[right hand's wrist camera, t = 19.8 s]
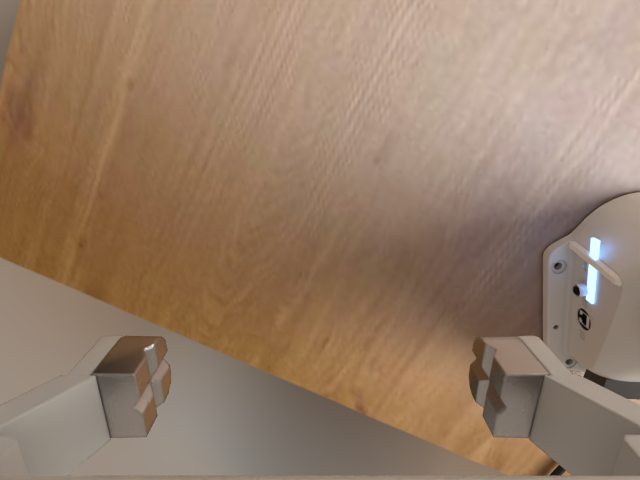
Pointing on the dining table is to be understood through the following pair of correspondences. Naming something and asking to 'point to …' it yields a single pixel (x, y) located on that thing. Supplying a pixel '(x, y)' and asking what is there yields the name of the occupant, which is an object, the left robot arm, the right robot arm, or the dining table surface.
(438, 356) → the dining table surface
